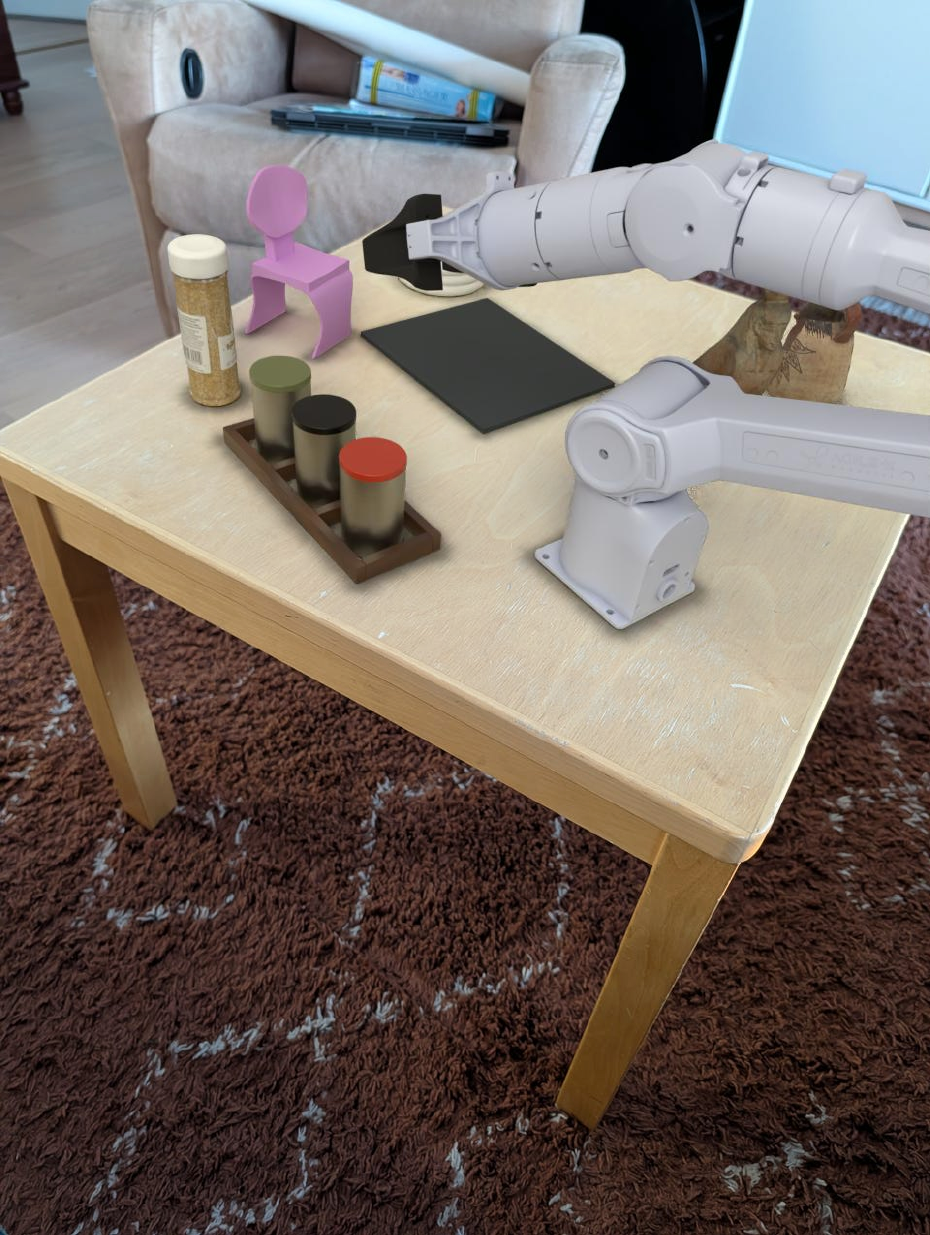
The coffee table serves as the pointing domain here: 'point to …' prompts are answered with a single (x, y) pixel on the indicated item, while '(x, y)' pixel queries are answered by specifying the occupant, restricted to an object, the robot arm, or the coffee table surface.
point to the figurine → (817, 354)
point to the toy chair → (294, 259)
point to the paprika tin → (372, 494)
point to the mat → (486, 363)
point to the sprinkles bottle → (205, 317)
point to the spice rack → (330, 513)
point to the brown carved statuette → (752, 345)
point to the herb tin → (277, 403)
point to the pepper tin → (321, 445)
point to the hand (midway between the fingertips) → (407, 255)
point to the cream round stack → (451, 284)
